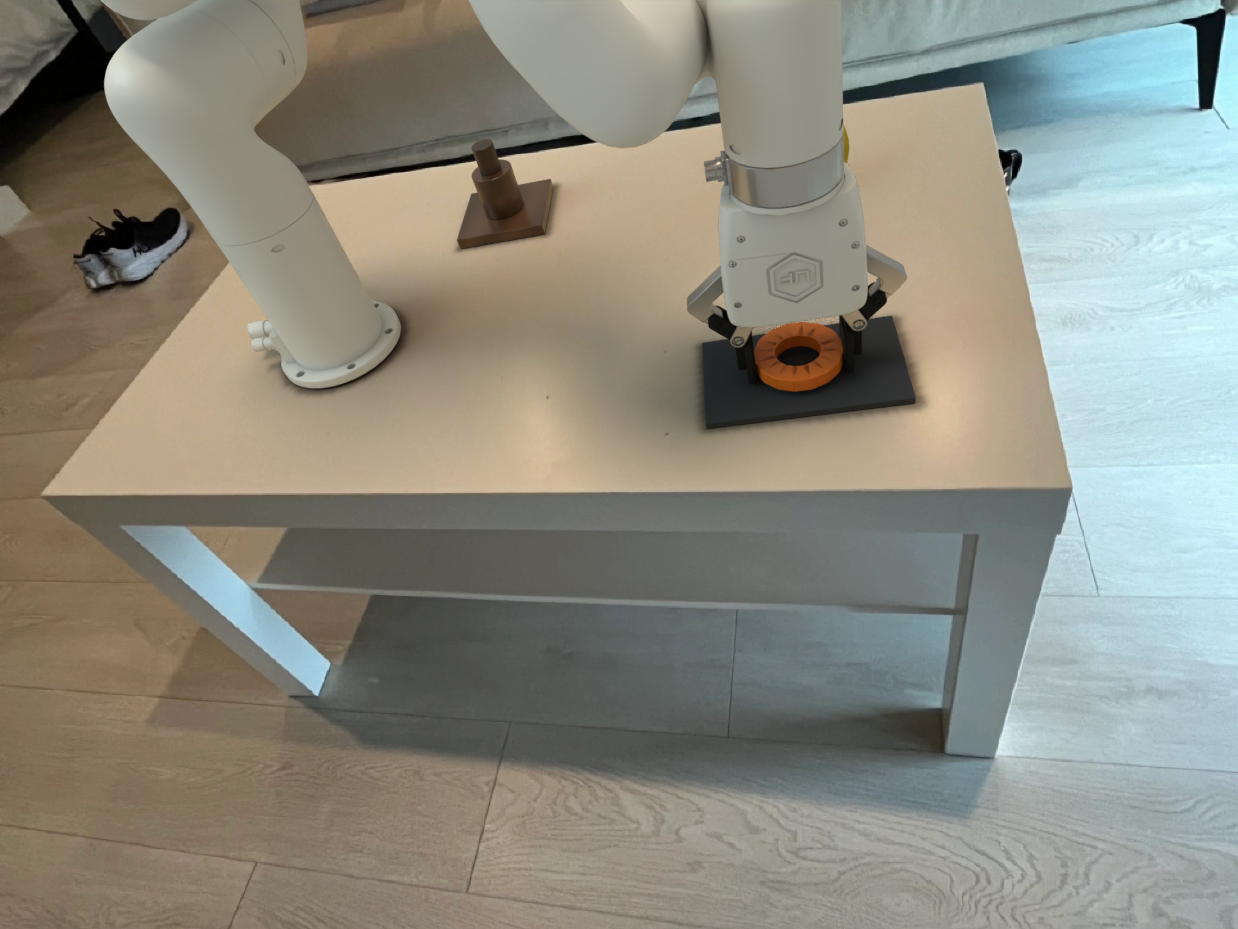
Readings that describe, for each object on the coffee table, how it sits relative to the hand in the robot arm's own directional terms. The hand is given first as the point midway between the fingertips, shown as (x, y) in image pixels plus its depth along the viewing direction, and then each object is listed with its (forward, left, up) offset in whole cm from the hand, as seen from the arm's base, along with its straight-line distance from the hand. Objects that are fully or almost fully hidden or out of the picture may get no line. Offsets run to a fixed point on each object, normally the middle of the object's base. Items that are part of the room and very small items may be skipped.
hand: (799, 364), depth 66 cm
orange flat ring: (0, 0, 0) cm, 0 cm away
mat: (0, 0, -1) cm, 1 cm away
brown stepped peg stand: (-30, +33, -1) cm, 44 cm away
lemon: (+5, +28, -1) cm, 29 cm away
